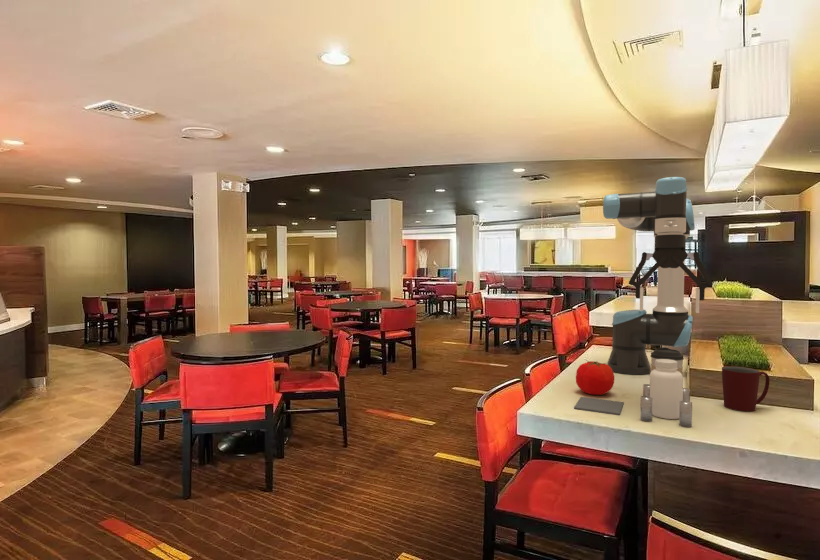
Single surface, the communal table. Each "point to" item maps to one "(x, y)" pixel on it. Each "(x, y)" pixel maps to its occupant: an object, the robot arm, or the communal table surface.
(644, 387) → the spacers
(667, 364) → the pill bottle
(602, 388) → the tomato
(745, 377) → the mug
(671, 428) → the communal table surface
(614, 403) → the mat
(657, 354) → the coffee cup
